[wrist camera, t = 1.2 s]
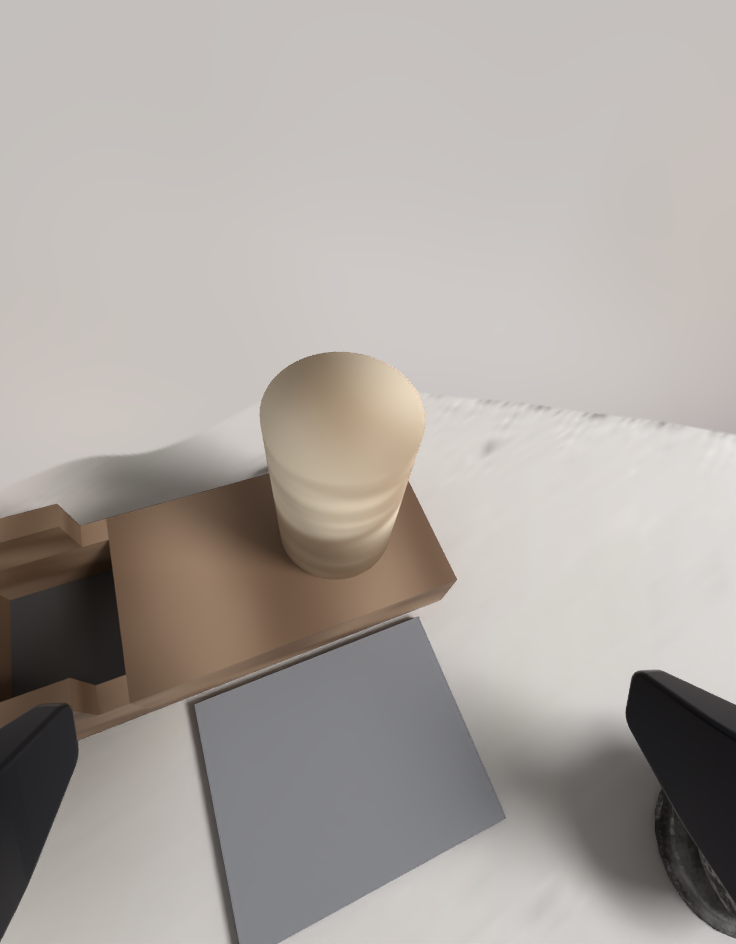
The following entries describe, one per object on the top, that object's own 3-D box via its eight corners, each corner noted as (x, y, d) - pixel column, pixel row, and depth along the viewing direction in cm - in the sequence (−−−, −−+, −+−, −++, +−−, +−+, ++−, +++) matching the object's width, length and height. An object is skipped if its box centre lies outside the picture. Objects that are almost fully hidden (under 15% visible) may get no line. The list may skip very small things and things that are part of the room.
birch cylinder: (322, 602, 19) (325, 516, 12) (258, 515, 20) (227, 394, 13) (412, 537, 20) (459, 428, 14) (346, 461, 22) (358, 331, 15)
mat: (416, 618, 22) (418, 616, 21) (502, 816, 18) (506, 818, 18) (196, 705, 19) (194, 704, 19) (244, 957, 15) (243, 962, 15)
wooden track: (381, 471, 26) (394, 415, 21) (441, 599, 22) (470, 563, 18) (-276, 665, 18) (-458, 638, 14) (-337, 901, 15) (-603, 961, 11)
